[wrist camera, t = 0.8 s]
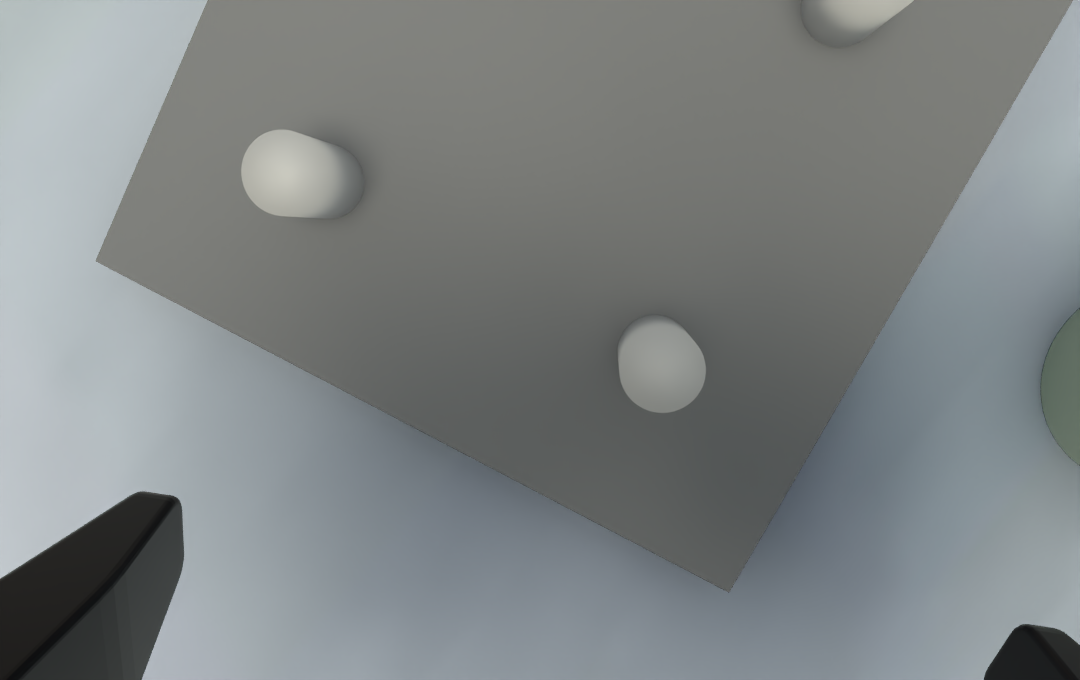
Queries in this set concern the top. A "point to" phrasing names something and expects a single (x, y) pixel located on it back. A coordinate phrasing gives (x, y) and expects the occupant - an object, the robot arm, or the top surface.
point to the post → (1064, 388)
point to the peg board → (577, 222)
